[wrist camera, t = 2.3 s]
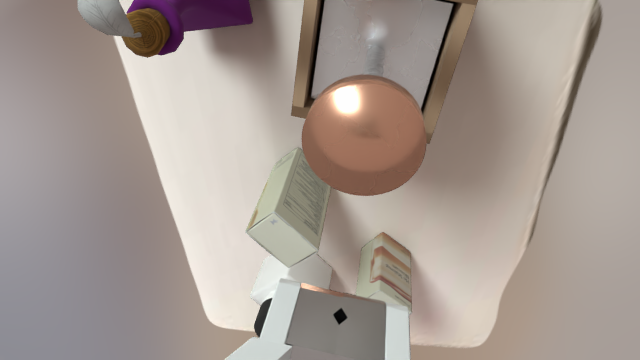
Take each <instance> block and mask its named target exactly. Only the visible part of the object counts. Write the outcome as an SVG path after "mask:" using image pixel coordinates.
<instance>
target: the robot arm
mask: <svg viewBox="0 0 640 360" xmlns="http://www.w3.org/2000/svg"><path fill="white" fill-rule="evenodd" d="M224 360H411V352H410V325H409V310H408V308H407V307H406V306H402V305H397V304H393V303H388V302H384V301H380V300H376V299H371V298H366V297H362V296H357V295H352V294H348V293H340V292H336V291H332V290H328V289H324V288H320V287H317V286H313V285H309V284H305V283H302V284H301V283H300V282H296V281H292V280H287V279H283V278H280V280H279V282H278V283H277V286H276V289H275V292H274V295H273V298H272V301H271V304H270V308H269V311H268V314H267V317H266V320H265V323H264V326H263V329H262V332H261V335H260V338H256V337H252V338H251V339H250V340H248V341H247V342H246V343H245V344H243V345H242V346H241V347H239V348H238V349H237V350H236V351H235V352H233V353H232V354H231V355H230V356H228V357H227V358H226V359H224Z"/></svg>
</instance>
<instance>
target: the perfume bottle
mask: <svg viewBox="0 0 640 360" xmlns="http://www.w3.org/2000/svg"><path fill="white" fill-rule="evenodd" d="M78 10H79V12H80V13H81V15H82V17H83V18H84V20H85V21H86V22H87V23H88V24H89V25H91V26H92V27H93V28H95V29H97V30H99V31H101V32H103V33H105V34H107V35H114V36H122V38H123V41H124V43H125V45H126V47H128V48H129V49H130V50H131V51H132V52H134V53H135V54H136V55H139V56H143V57H147V58H148V57H151V56H154V55H165V54H168V53H171V52H175V51H176V50H177V48H178V47H179V45H180V44H181V42H182V41H183V39H184V32H186V31H194V30H203V29H211V28H219V27H228V26H236V25H245V24H251V23H252V22H253V18H252V13H251V9H250V4H249V0H134V1H133V2H132V4H131V6H130V8H129V9H128V11H127V15H126V14H125V12H124V10H123V8H122V6H121V4H120V2H119V0H78Z"/></svg>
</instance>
